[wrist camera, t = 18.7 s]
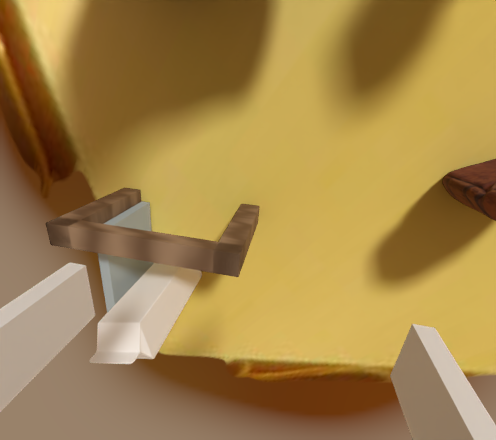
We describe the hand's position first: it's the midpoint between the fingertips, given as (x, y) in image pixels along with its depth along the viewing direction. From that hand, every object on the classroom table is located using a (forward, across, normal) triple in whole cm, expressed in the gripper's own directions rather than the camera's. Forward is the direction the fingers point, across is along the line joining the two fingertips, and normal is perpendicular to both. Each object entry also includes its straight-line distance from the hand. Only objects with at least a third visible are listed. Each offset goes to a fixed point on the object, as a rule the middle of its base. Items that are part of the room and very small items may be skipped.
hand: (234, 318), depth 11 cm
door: (+32, -24, -17) cm, 44 cm away
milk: (+33, -16, -20) cm, 42 cm away
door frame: (+33, -15, -8) cm, 37 cm away
